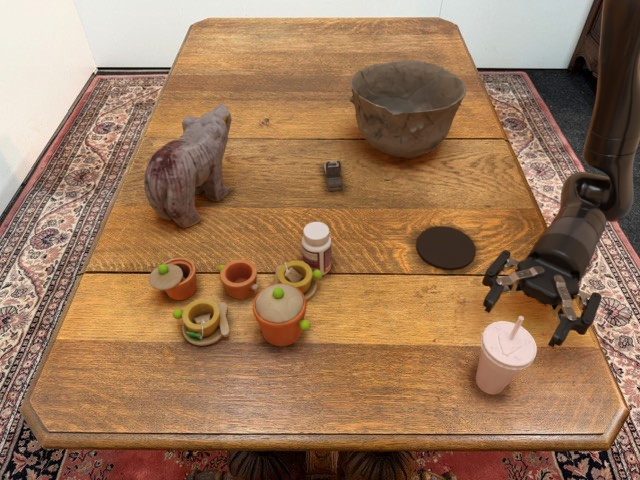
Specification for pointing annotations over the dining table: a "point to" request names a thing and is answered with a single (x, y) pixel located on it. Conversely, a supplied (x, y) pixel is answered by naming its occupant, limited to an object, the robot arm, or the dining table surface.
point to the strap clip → (333, 175)
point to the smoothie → (503, 354)
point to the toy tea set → (240, 282)
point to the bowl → (406, 105)
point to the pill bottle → (317, 247)
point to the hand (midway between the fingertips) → (519, 325)
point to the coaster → (445, 248)
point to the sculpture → (189, 167)
